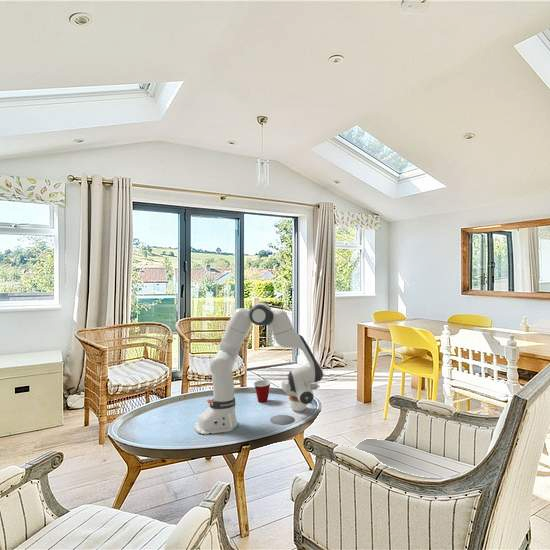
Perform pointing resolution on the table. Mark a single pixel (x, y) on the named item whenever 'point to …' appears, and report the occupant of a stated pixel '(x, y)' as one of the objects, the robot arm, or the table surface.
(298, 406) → the lidded jar
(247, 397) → the table surface
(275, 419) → the coaster
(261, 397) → the plastic cup
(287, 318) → the robot arm
